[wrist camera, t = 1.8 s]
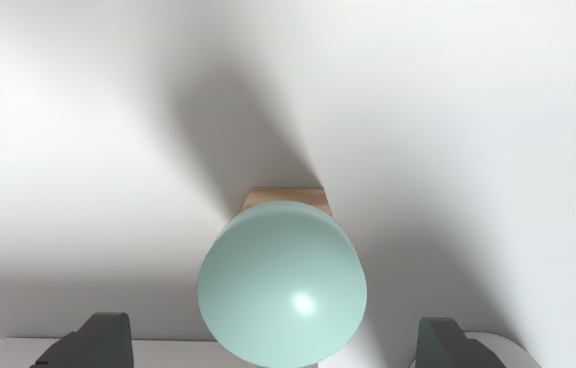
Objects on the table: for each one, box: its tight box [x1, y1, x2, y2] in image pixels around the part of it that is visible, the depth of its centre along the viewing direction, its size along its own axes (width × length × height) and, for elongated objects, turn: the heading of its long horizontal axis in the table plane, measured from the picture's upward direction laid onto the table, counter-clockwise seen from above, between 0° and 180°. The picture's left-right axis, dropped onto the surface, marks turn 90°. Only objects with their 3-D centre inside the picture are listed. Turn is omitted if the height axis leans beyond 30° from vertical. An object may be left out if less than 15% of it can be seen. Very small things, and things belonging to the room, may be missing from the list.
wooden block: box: [238, 188, 332, 217], centre depth 17 cm, size 4×4×6 cm
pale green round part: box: [197, 200, 367, 368], centre depth 13 cm, size 6×6×2 cm
